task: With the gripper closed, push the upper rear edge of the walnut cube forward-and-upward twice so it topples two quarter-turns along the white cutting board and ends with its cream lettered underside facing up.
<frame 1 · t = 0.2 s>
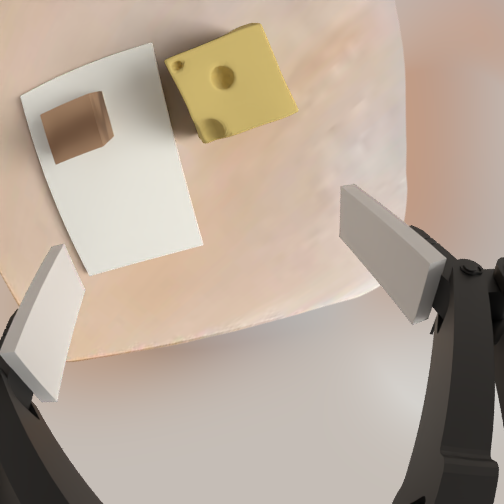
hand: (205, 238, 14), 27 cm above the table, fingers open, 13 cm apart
walnut block: (86, 121, 32), point 1 cm above the table, touching cutting board
cheese: (220, 81, 34), on the table
cutting board: (110, 167, 37), on the table
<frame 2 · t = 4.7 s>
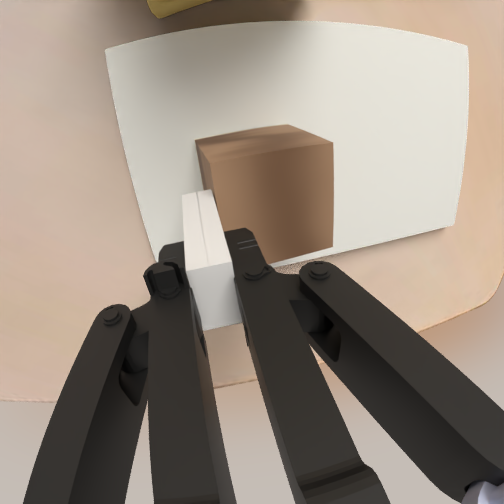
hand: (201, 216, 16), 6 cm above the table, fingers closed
walnut block: (247, 174, 20), point 1 cm above the table, touching gripper
cutting board: (329, 142, 22), on the table
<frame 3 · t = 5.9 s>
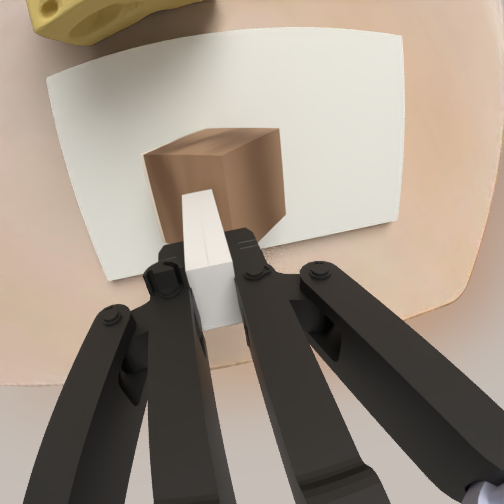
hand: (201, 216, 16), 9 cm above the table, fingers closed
walnut block: (182, 182, 21), point 3 cm above the table, tilted 47°, touching cutting board
cutting board: (247, 143, 24), on the table
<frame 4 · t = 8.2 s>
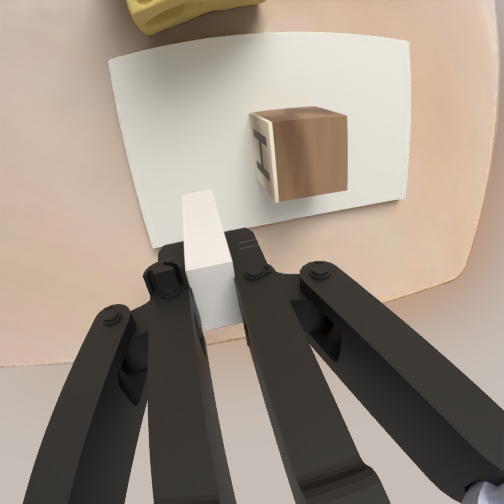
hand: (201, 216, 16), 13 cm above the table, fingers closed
walnut block: (261, 153, 24), point 4 cm above the table, tilted 90°, touching cutting board
cutting board: (283, 127, 27), on the table
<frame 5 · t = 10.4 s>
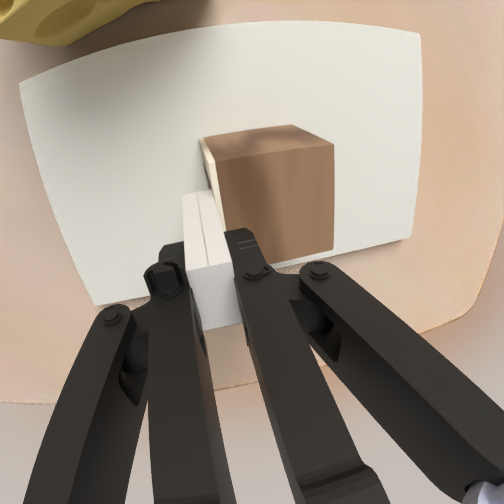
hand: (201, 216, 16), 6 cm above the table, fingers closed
walnut block: (211, 200, 17), point 4 cm above the table, tilted 91°, touching cutting board, gripper
cutting board: (247, 154, 21), on the table
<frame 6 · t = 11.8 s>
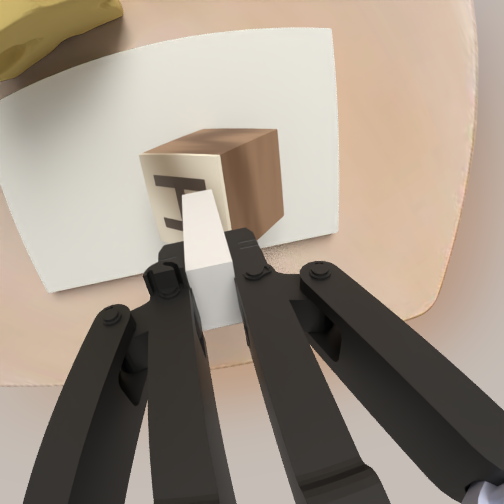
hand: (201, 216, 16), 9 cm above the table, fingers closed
walnut block: (182, 205, 17), point 8 cm above the table, tilted 135°, touching cutting board
cheese: (47, 0, 14), on the table
cutting board: (161, 159, 23), on the table
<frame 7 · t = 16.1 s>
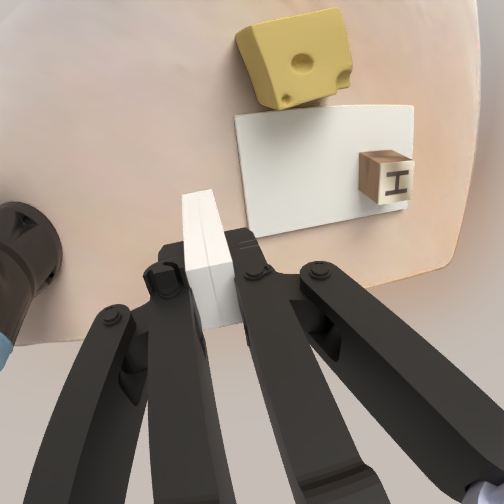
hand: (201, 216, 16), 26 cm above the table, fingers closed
walnut block: (397, 182, 40), point 7 cm above the table, tilted 180°, touching cutting board
cheese: (280, 59, 35), on the table
cutting board: (334, 164, 44), on the table
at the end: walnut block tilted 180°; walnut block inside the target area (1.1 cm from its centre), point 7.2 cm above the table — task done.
